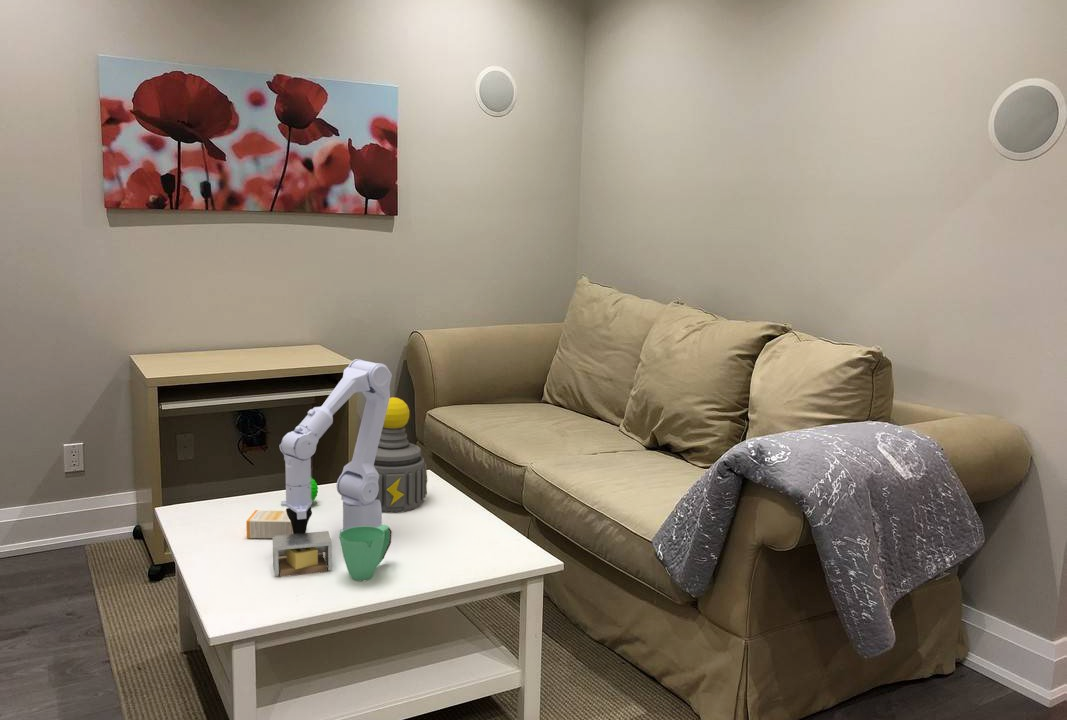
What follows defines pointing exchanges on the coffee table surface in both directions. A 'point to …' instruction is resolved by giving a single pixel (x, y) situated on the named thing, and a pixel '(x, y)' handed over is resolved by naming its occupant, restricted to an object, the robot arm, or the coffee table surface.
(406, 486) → the decorative lamp
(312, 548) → the hollow square block
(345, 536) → the mug
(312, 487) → the ornament
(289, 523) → the supplement box
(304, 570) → the pin board
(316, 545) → the cover
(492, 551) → the coffee table surface
